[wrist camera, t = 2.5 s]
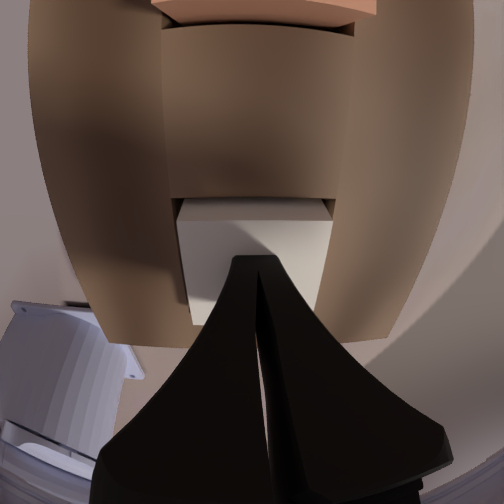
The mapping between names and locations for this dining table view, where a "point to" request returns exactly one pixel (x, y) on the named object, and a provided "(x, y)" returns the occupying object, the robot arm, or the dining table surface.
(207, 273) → the off white key
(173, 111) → the key panel
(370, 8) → the salmon orange square block
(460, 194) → the dining table surface
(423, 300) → the dining table surface
